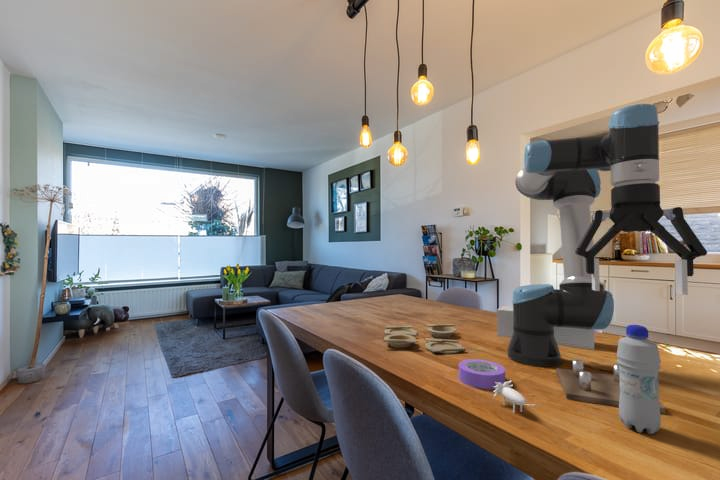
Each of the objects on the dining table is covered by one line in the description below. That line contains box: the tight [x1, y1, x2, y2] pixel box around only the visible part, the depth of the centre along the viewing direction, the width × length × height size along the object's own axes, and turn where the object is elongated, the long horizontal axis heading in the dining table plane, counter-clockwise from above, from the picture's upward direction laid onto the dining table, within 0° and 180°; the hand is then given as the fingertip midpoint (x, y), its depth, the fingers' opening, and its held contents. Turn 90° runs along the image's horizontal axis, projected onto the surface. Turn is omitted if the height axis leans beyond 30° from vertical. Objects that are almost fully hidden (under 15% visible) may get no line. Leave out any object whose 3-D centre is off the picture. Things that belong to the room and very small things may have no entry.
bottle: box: [616, 324, 662, 435], centre depth 66 cm, size 7×7×20 cm
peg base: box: [555, 367, 666, 415], centre depth 83 cm, size 18×18×1 cm
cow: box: [492, 379, 537, 414], centre depth 73 cm, size 12×5×5 cm, turn 13°
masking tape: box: [458, 358, 506, 390], centre depth 90 cm, size 12×12×4 cm
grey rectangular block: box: [496, 305, 596, 350], centre depth 130 cm, size 32×11×11 cm, turn 54°
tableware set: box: [382, 323, 467, 354], centre depth 128 cm, size 35×29×4 cm
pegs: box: [571, 358, 620, 391], centre depth 83 cm, size 11×11×4 cm
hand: (636, 292), depth 66 cm, fingers open, 13 cm apart
